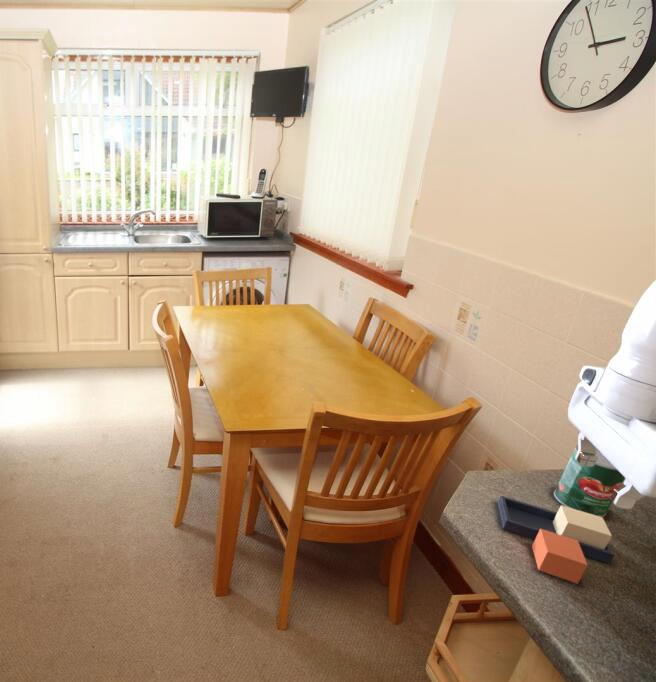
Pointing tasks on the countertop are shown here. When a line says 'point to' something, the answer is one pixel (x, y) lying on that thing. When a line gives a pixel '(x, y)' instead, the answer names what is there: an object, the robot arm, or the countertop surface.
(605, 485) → the canned tomato
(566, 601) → the countertop surface
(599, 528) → the cream block
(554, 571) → the orange block
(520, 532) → the frame
